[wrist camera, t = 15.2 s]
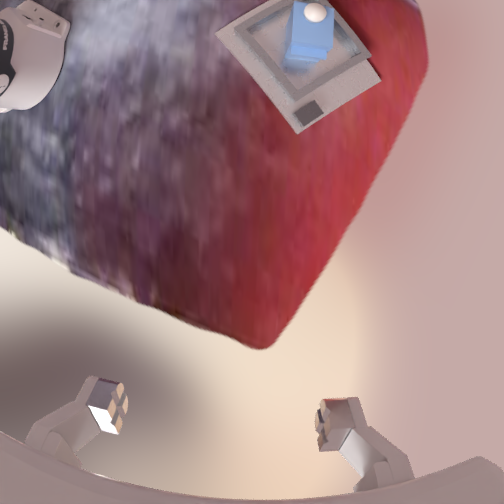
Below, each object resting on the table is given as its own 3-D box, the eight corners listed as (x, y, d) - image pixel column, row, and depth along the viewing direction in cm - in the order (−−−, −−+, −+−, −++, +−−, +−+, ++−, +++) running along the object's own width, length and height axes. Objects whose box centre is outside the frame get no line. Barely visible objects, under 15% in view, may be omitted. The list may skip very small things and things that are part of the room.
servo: (317, 69, 31) (334, 54, 23) (283, 64, 31) (292, 47, 23) (319, 22, 28) (336, -2, 21) (287, 17, 28) (295, -10, 20)
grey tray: (215, 35, 30) (212, 28, 27) (301, -14, 27) (305, -23, 24) (296, 134, 36) (299, 134, 33) (378, 81, 32) (387, 79, 29)
